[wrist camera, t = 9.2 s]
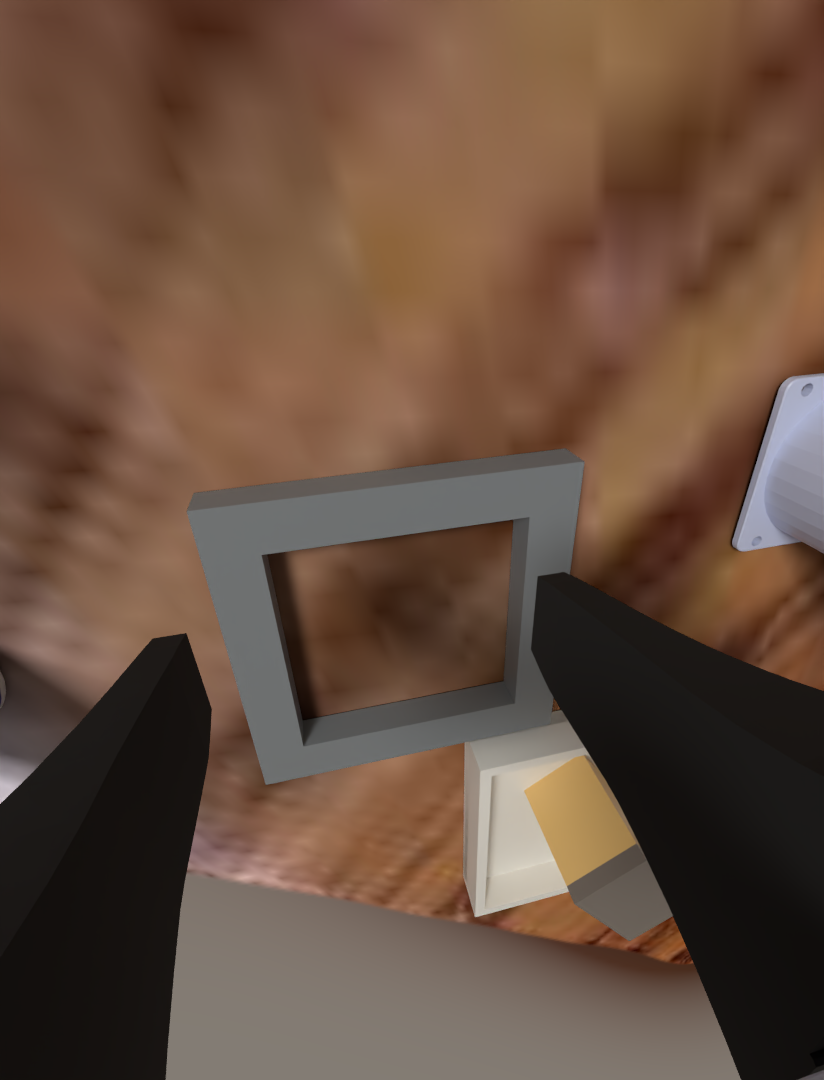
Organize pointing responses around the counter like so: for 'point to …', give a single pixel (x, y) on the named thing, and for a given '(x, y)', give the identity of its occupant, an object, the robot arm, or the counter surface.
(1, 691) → the energy drink
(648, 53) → the counter surface
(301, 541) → the gray square ring
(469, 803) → the parts tray
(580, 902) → the tan and grey block
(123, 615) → the counter surface
